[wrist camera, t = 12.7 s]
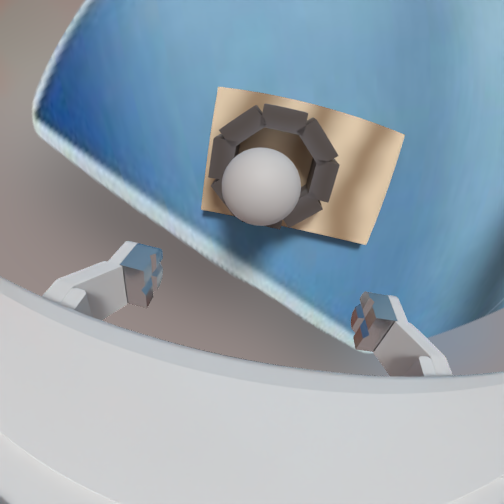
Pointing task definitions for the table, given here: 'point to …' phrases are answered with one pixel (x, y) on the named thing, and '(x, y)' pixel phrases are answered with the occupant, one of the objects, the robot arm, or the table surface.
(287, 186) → the lightbulb
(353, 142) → the socket board
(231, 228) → the table surface
